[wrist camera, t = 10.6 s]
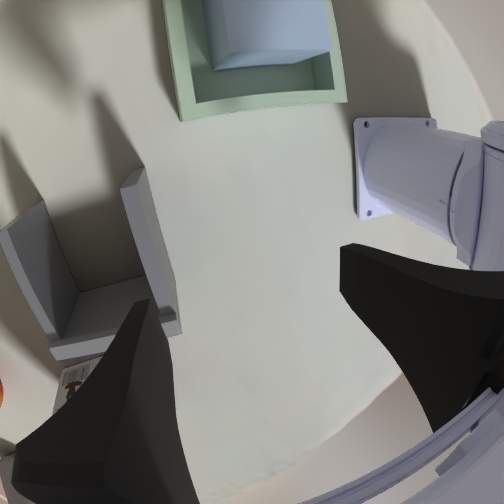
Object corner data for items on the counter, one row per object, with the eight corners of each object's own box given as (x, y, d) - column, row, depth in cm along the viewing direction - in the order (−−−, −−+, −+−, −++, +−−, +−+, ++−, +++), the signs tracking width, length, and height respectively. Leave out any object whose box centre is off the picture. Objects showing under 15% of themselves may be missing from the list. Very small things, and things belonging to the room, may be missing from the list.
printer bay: (144, 166, 17) (135, 187, 11) (175, 278, 20) (182, 334, 15) (34, 203, 15) (-9, 238, 10) (75, 303, 19) (56, 360, 14)
